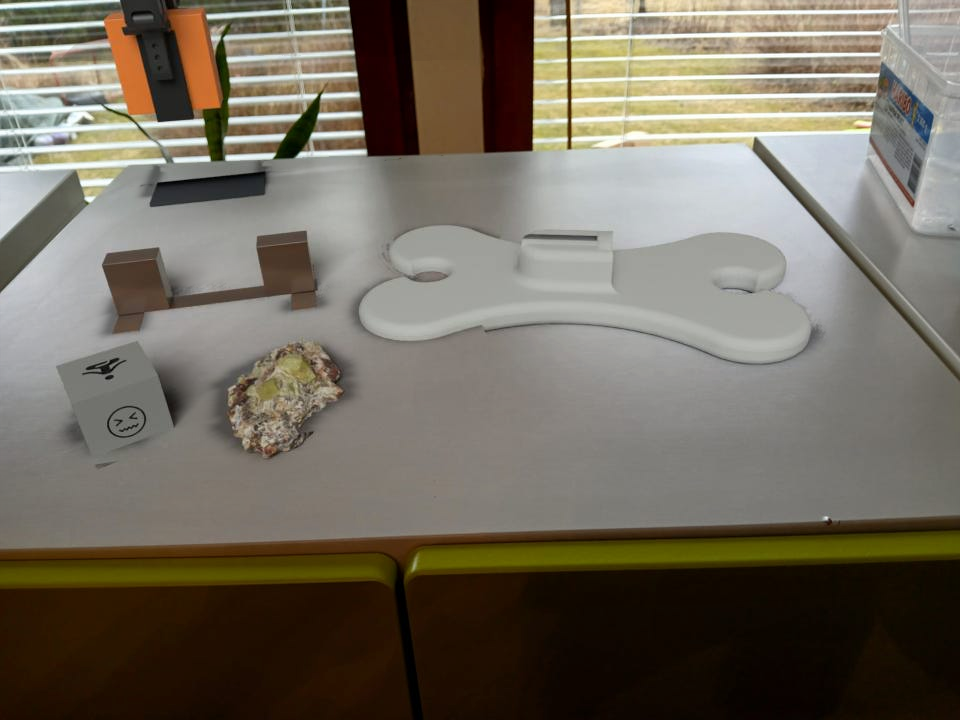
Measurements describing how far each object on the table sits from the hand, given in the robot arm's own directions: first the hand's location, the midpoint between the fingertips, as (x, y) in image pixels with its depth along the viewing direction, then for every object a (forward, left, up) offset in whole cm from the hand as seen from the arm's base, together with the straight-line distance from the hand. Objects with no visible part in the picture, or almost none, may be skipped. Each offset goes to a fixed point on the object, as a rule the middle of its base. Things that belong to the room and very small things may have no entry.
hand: (178, 112), depth 64 cm
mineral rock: (+23, +6, -14) cm, 28 cm away
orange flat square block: (0, 0, 0) cm, 0 cm away
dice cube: (+23, -4, -14) cm, 28 cm away
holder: (+13, +30, -14) cm, 36 cm away
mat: (-24, -2, -14) cm, 28 cm away
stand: (+7, +1, -14) cm, 16 cm away
